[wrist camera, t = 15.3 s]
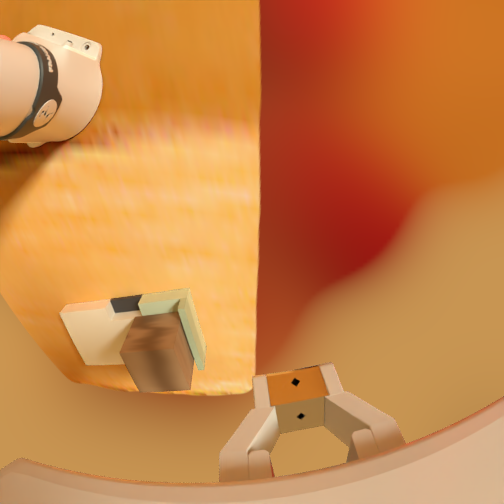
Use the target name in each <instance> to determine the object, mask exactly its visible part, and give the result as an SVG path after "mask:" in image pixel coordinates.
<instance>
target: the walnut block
mask: <svg viewBox="0 0 504 504" xmlns="http://www.w3.org/2000/svg"><path fill="white" fill-rule="evenodd" d="M119 354H120V356H121V358H122V360H123V362H124V364H125V366H126V367H127V369H128V371H129V373H130V375H131V377H132V379H133V381H134V383H135V384H136V386H137V388H138V390H139V392H164V391H181V390H190V389H191V381H192V373H193V365H194V357H193V354H192V351H191V348H190V345H189V342H188V340H187V337H186V334H185V331H184V328H183V325H182V322H181V319H180V315H179V312H170V313H162V314H154V315H146V316H137V317H135V318H134V320H133V323H132V325H131V327H130V329H129V332H128V334H127V336H126V338H125V341H124V343H123V345H122V348H121V350H120V352H119Z"/></svg>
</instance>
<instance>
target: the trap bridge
mask: <svg viewBox="0 0 504 504" xmlns="http://www.w3.org/2000/svg"><path fill="white" fill-rule="evenodd" d="M170 312H179V315H180V319H181V322H182V325H183V328H184V331H185V334H186V337H187V340H188V342H189V345H190V348H191V351H192V354H193V357H194V360H195V362H196V365H197V368H198V370H204V369H205V357H206V347H207V346H206V343H205V340H204V337H203V333H202V330H201V327H200V323H199V320H198V317H197V313H196V310H195V306H194V303H193V299H192V296H191V292H190V288H185V289H178V290H171V291H164V292H157V293H150V294H143V295H136V296H128V297H121V298H113V299H106V300H98V301H90V302H82V303H74V304H66V305H65V307H64V308H63V309H62V310H61V312H60V313H59V314H60V316H61V318H62V320H63V322H64V324H65V326H66V328H67V330H68V332H69V334H70V336H71V338H72V340H73V342H74V344H75V346H76V348H77V350H78V352H79V353H80V355H81V357H82V359H83V361H84V362H85V364H86V365H119V364H124V362H123V360H122V358H121V356H120V354H119V352H120V350H121V348H122V345H123V343H124V341H125V338H126V336H127V334H128V332H129V329H130V327H131V325H132V323H133V320H134V318H135V317H137V316H146V315H154V314H162V313H170Z"/></svg>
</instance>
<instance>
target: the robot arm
mask: <svg viewBox="0 0 504 504" xmlns="http://www.w3.org/2000/svg"><path fill="white" fill-rule="evenodd" d="M88 46H89V49H88V50H86V48H87V47H88ZM101 53H102V46H101V44H99V43H97V42H94V41H91V40H89V39H86V38H83V37H80V36H77V35H74V34H71V33H68V32H64V31H61V30H58V29H55V28H51V27H48V26H44V25H37V26H36V27H34V28H33V29H32V30H30V31H29V32H28V33H21V34H19V35H18V36H16V37H15V38H14V39H13V40H12V41H11V39H10V38H8V37H7V36H4V35H0V140H4V141H5V140H8V141H9V142H11V143H27V144H28V146H29V147H31V148H36V147H39V146H41V145H43V144H44V143H46V142H50V141H63V140H67V139H69V138H71V137H73V136H75V135H76V134H78V133H79V132H80V131H81V130H83V129H84V128H85V126H86V125H87V124H88V123H89V122H90V120H91V119H92V117H93V116H94V114H95V112H96V110H97V107H98V105H99V102H100V98H101V94H102V75H101V71H100V58H101ZM266 376H267V377H266ZM252 383H253V394H254V405H255V409H251V410H250V412H249V413H248V415H247V416H246V418H245V419H244V420H243V422H242V423H241V424H240V426H239V427H238V429H237V430H236V431H235V433H234V434H233V436H232V437H231V438H230V440H229V441H228V442H227V444H226V445H225V447H224V448H223V449H222V450H221V452H220V455H219V482H213V483H168V482H149V481H148V482H147V481H137V480H127V479H118V478H111V477H103V476H97V475H91V474H86V473H81V472H75V471H71V470H66V469H62V468H58V467H53V466H49V465H46V464H42V463H39V462H35V461H32V460H29V459H25V458H19V459H16V460H14V461H13V462H11V463H10V464H8V465H7V466H5V467H4V468H2V469H1V470H0V504H504V396H503V397H501V398H500V399H498V400H496V401H495V402H493V403H491V404H490V405H488V406H486V407H484V408H483V409H481V410H479V411H477V412H475V413H473V414H471V415H469V416H468V417H466V418H464V419H462V420H460V421H458V422H456V423H454V424H451V425H450V426H447V427H445V428H443V429H441V430H439V431H437V432H434V433H432V434H429V435H427V436H425V437H422V438H420V439H417V440H415V441H412V442H409V443H407V444H406V443H405V440H404V438H403V436H402V434H401V432H400V430H399V428H398V426H397V424H396V421H395V419H394V418H392V417H390V416H389V415H387V414H385V413H383V412H382V411H380V410H378V409H377V408H375V407H373V406H371V405H370V404H368V403H366V402H364V401H363V400H361V399H359V398H358V397H356V396H355V395H353V394H351V393H350V392H348V391H347V392H344V391H343V388H342V386H341V383H340V381H339V378H338V375H337V373H336V370H335V368H334V365H333V363H332V362H329V363H324V364H320V365H315V366H311V367H305V368H301V369H295V370H292V371H285V372H278V373H271V374H266V375H257V376H253V377H252ZM323 425H324V426H325V427H326V428H327V429H328V430H329V431H330V432H331V433H333V434H334V435H335V436H336V437H337V438H339V439H340V440H341V441H342V442H343V443H345V444H346V445H347V446H348V447H349V452H348V457H347V461H346V463H343V464H340V465H336V466H331V467H327V468H322V469H319V470H313V471H308V472H303V473H298V474H292V475H285V476H279V477H275V475H274V472H273V467H272V463H271V460H270V453H271V451H272V450H273V448H274V446H275V444H276V442H277V440H278V438H279V436H280V434H282V433H287V432H292V431H297V430H302V429H308V428H313V427H318V426H323Z"/></svg>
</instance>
